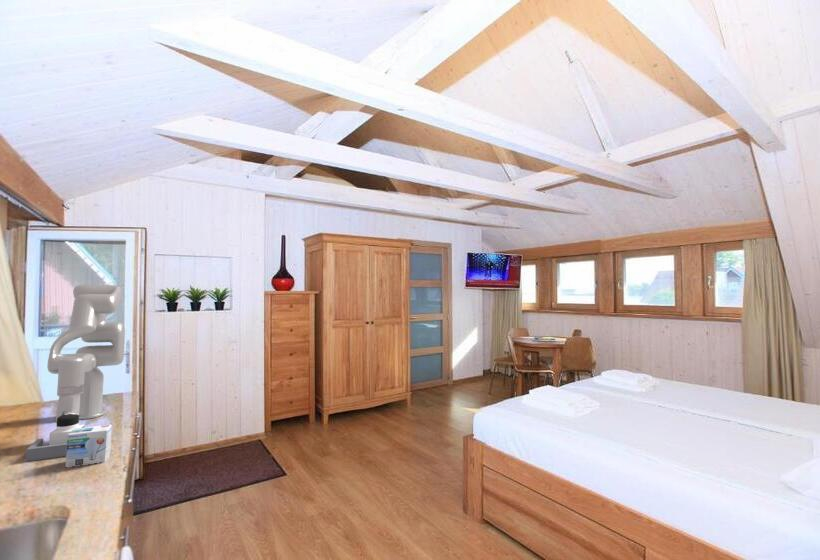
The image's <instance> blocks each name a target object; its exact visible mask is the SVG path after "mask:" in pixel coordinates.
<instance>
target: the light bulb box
mask: <svg viewBox="0 0 820 560" xmlns="http://www.w3.org/2000/svg"><path fill="white" fill-rule="evenodd" d="M112 428H113V425H112V424H110V423H109V424H105V425H94V426H84V427H83V428H74V429H73V430H72V431H71V432H70V433H69V434H68V438H67V452H66V456H65V466H64V467H67V468H72V466H75V467H81V466H80V465H82V466H87V465H88V464H90V465H94V463H97V464H101V463H100V462H104V463H106V462H107V460H108V459H109V457H110V456H111V445H112V444H111V442H112ZM109 455H110V456H109ZM107 458H108V459H107ZM105 461H106V462H105Z"/></svg>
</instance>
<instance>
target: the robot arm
mask: <svg viewBox="0 0 820 560" xmlns="http://www.w3.org/2000/svg"><path fill="white" fill-rule="evenodd" d="M72 293H73V297H74V301H73V306H72V312H71V317H70V323H69V327H68V329H67V330H65V331H64V332H63V333H61V335H59V336H58V337H57V338H56V339H55V341H54V342H53V343H52V345H51V347H50V350H49V354H48V357H47V358H48V359H47V371H48V372H49V373H50V374H52V375H53V374H54V375H57V388H56V389H57V390H56V391H57V392H56V396H57V397H58V401H57V408H56V414H55V415H56V417H55V423H56V424H57V418H58V417H59V416H61V415H65V414H71V413H75V414H78V415H79V421H81V420H89V419H93V418H99V417H102V416H103V415H105V414H106V413H107V410H106V409H104V408H103V396H104V395H103V394H104V378H105V376H104V374H103V372H102V371H101V369H100V368H99V367H106V366H107V367H108V366H109V367H111V366H119V365H121V364H122V363H123V362H124V358H125V357H124V356H125V338H126V329H125V325H124V323H122V322H120V321H107V320H106V319H107V318H106V316H107V314H114V313H116V312H117V310H118V308H119V307H120V303H121V301H122V300H123V296H124V295H123V288H122V287H120V286H119V285H113V284H110V285H109V284H80V285H79V284H78V285H75V286H74V288H73V292H72ZM79 338H81V340H82V342H84V343H89V344H90V343H98V345H97V344H96V345H86V346H82V347H79V348H78V349H77V350H76V351H75V353H63V354H61V351H62V349H64V347H65V346H66V345H67V344H68V343H70V342H72V341H74V340H77V339H79ZM99 343H111V344H107V345H106V344H101V345H99Z"/></svg>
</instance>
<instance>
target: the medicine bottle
mask: <svg viewBox="0 0 820 560" xmlns="http://www.w3.org/2000/svg"><path fill="white" fill-rule="evenodd" d="M83 427H85V424H80V420H79V415H78V414H75V413H71V414H65V415H61V416H59V417H58V418H57V423H56V429H55V430H53V431H51V432H49V441H48V445H56V444H63V443H67V438H68V434H69V433H70V432H71V431H72V430H73V429H74V428H83Z"/></svg>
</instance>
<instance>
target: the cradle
mask: <svg viewBox="0 0 820 560" xmlns="http://www.w3.org/2000/svg"><path fill="white" fill-rule="evenodd" d="M66 452H67V443H63V444H56V445H49V444H48V445H44V438H37V440H35V441H34V442H33V443H32V444H31V445H30V446H29V447H28V448H26V453H25V462H27V461H28V462H34V461H40V460H41V461H42V460H49V459H55V458H62V456H64V457H66ZM28 462H27V463H28Z"/></svg>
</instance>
